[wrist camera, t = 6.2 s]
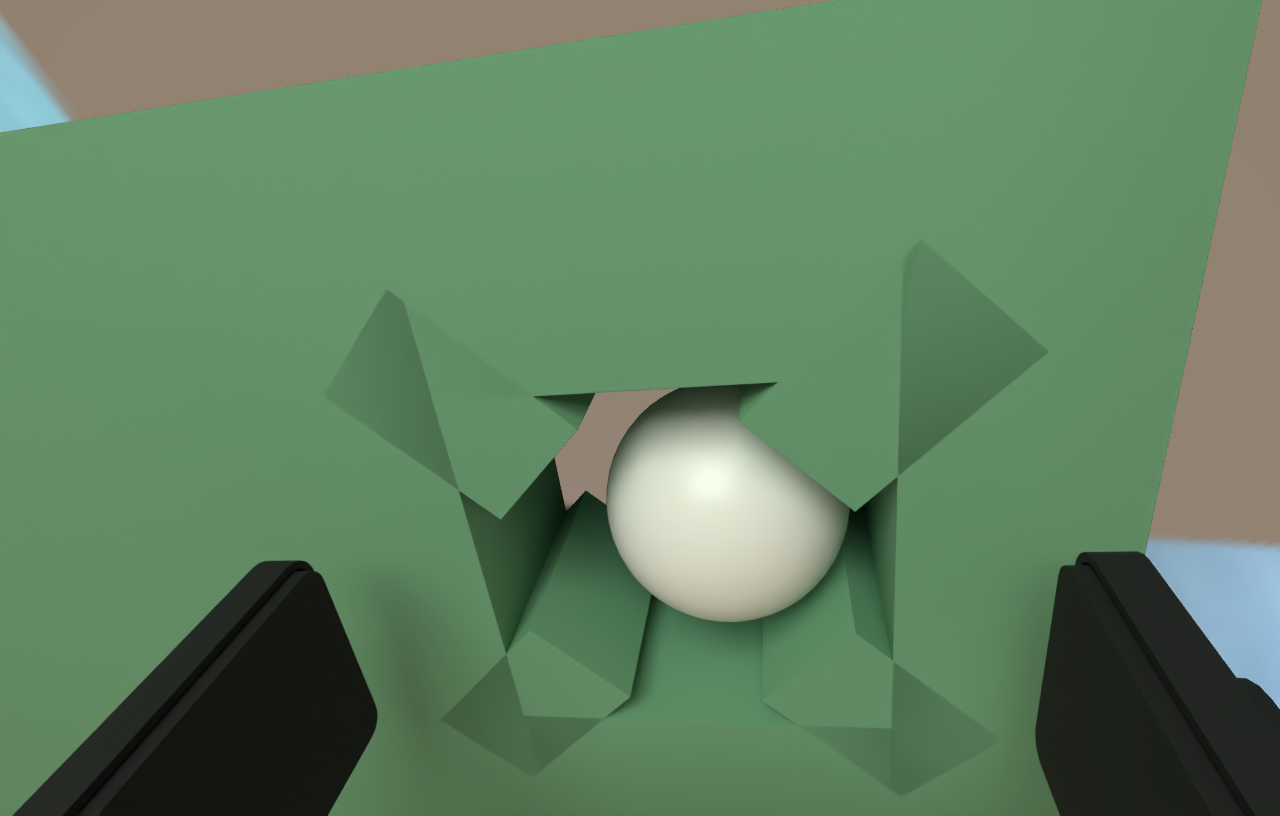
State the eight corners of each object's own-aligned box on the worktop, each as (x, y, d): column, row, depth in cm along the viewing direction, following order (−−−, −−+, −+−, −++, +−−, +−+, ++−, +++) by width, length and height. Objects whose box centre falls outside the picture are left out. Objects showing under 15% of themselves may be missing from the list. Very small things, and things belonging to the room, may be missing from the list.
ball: (605, 495, 9) (818, 319, 10) (534, 468, 13) (695, 340, 14) (767, 717, 10) (946, 532, 11) (656, 631, 14) (799, 498, 15)
